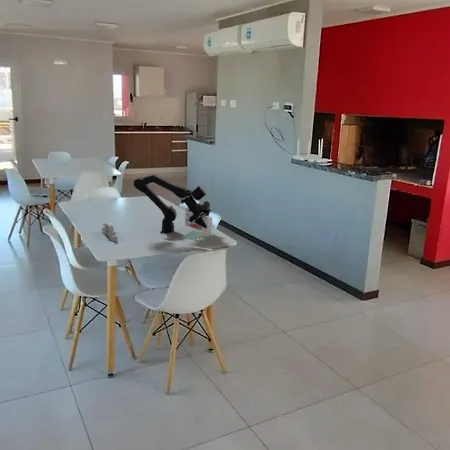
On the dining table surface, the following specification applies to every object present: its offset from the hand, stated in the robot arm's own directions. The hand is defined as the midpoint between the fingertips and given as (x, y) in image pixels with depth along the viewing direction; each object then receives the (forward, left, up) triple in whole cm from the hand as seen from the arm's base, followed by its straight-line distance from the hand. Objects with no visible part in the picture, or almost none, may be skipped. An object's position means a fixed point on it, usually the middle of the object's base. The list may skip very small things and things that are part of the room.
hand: (208, 226), depth 269 cm
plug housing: (-1, 0, -6) cm, 6 cm away
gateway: (-47, -31, -7) cm, 57 cm away
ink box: (-19, +17, -7) cm, 27 cm away
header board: (-5, -3, -7) cm, 9 cm away
